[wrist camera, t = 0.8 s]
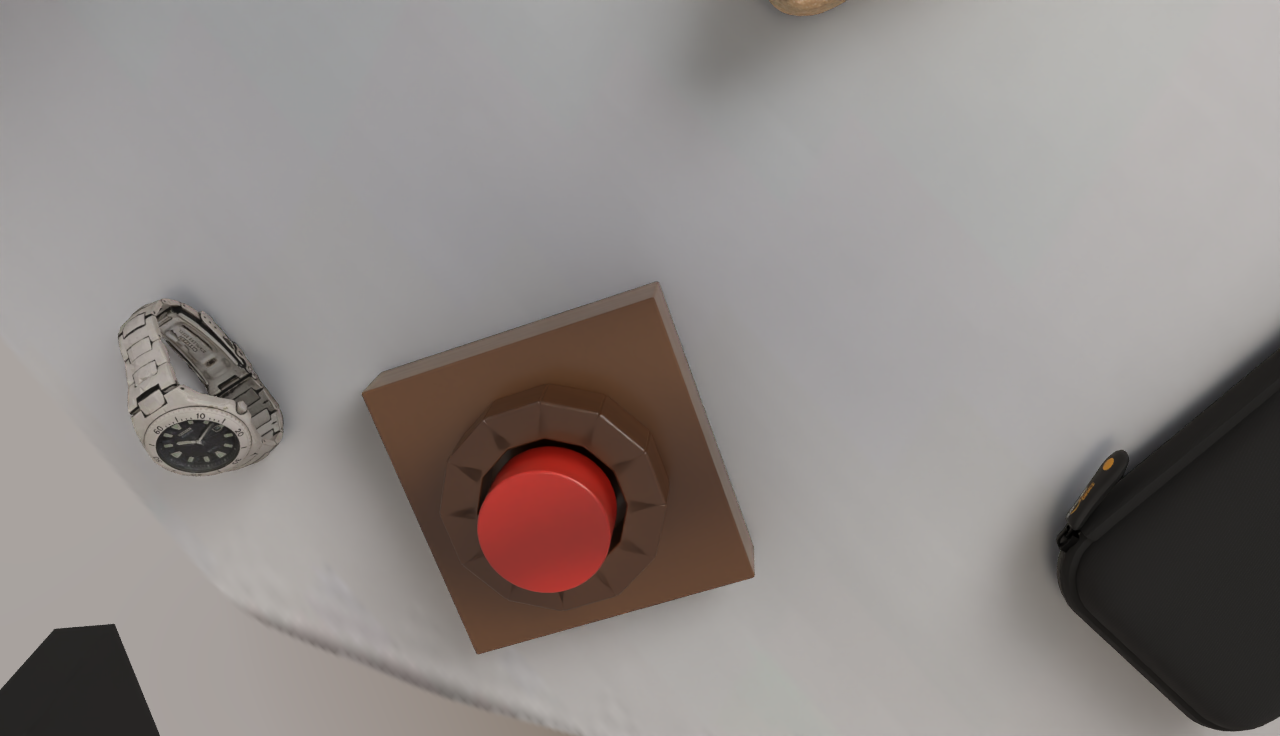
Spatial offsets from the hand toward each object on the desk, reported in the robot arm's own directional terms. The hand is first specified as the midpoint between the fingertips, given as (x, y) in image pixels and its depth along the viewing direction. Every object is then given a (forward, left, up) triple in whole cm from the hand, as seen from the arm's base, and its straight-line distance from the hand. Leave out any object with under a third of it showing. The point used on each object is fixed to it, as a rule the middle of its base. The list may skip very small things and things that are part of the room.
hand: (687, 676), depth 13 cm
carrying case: (+14, +15, -25) cm, 32 cm away
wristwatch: (-1, -17, -25) cm, 31 cm away
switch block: (+6, -7, -25) cm, 27 cm away
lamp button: (+6, -7, -22) cm, 23 cm away
